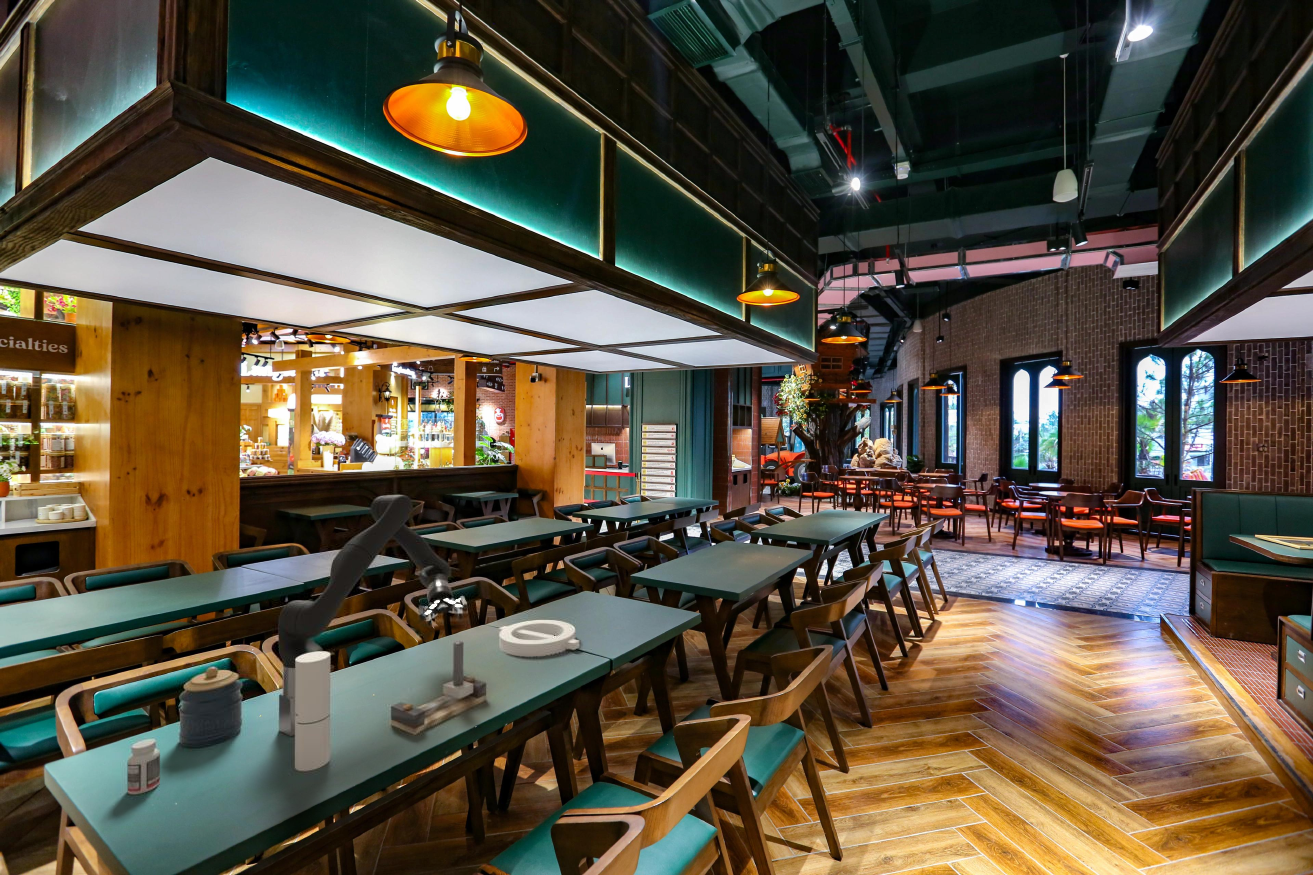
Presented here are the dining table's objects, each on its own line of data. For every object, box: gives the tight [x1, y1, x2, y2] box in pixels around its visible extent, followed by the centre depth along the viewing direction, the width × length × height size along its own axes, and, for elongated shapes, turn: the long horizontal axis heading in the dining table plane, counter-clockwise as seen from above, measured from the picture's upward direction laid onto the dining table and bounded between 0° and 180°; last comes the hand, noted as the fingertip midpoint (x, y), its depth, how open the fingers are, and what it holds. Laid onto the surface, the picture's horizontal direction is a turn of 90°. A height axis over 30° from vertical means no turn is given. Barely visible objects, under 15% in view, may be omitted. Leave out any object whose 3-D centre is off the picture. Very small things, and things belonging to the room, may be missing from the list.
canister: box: [178, 666, 243, 749], centre depth 150 cm, size 13×13×18 cm
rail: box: [390, 675, 487, 735], centre depth 164 cm, size 24×10×6 cm, turn 148°
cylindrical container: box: [294, 650, 331, 772], centre depth 138 cm, size 7×7×25 cm
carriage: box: [442, 640, 473, 699], centre depth 169 cm, size 5×7×14 cm
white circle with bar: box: [498, 619, 580, 658], centre depth 220 cm, size 28×28×5 cm
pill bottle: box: [126, 738, 161, 795], centre depth 128 cm, size 5×5×10 cm
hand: (445, 620), depth 177 cm, fingers open, 8 cm apart
